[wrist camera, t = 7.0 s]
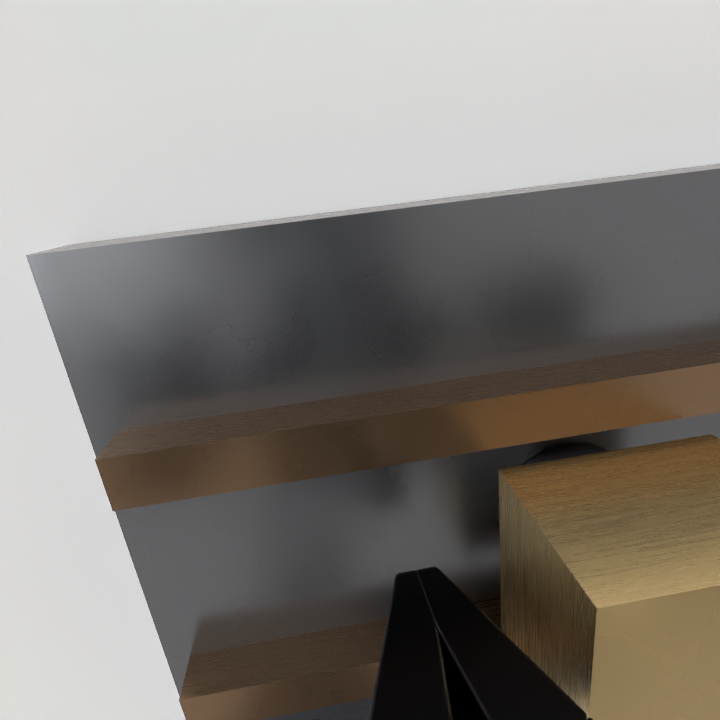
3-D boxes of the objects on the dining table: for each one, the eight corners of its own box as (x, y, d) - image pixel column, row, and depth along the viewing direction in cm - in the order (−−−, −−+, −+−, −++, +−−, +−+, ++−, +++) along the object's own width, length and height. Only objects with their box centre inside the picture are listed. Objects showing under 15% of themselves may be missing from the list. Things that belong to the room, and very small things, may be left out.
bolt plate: (1018, 561, 15) (1149, 630, 13) (218, 718, 13) (201, 830, 11) (1228, 100, 11) (1488, 75, 8) (69, 245, 9) (-13, 264, 7)
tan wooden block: (659, 573, 11) (833, 759, 7) (486, 605, 11) (581, 815, 7) (679, 414, 10) (906, 549, 6) (482, 446, 9) (596, 608, 6)
